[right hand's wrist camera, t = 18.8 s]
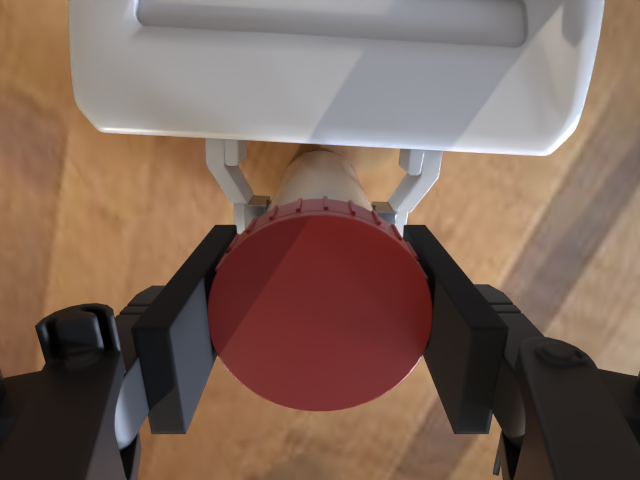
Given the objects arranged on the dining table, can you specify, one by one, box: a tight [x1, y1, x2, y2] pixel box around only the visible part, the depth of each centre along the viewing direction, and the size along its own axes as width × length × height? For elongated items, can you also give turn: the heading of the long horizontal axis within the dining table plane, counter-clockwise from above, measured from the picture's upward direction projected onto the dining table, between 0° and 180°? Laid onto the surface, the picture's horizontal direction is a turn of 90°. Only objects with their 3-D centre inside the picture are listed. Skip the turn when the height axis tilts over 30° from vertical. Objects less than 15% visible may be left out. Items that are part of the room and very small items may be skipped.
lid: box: [207, 196, 433, 411], centre depth 11 cm, size 6×6×2 cm
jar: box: [265, 150, 373, 213], centre depth 18 cm, size 5×5×15 cm
